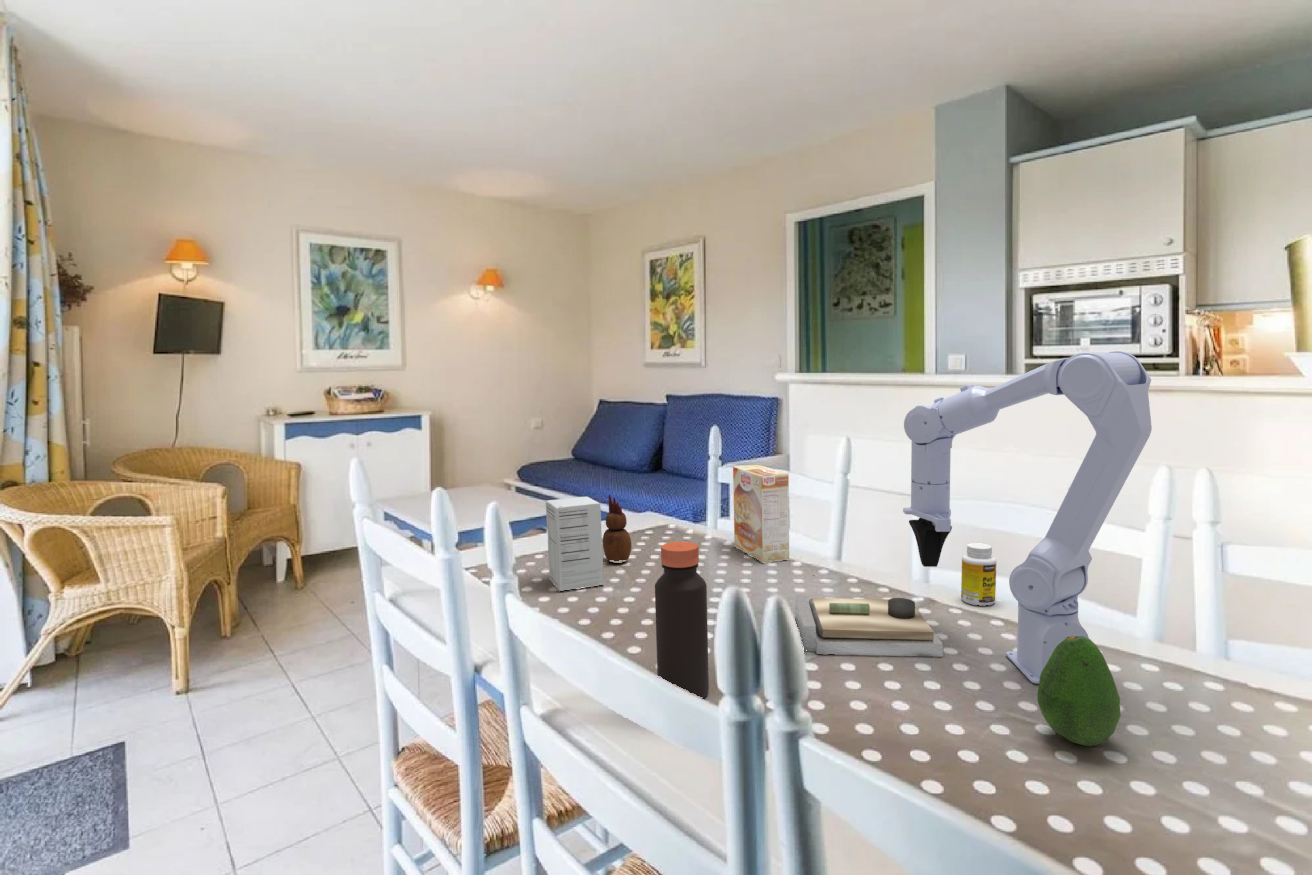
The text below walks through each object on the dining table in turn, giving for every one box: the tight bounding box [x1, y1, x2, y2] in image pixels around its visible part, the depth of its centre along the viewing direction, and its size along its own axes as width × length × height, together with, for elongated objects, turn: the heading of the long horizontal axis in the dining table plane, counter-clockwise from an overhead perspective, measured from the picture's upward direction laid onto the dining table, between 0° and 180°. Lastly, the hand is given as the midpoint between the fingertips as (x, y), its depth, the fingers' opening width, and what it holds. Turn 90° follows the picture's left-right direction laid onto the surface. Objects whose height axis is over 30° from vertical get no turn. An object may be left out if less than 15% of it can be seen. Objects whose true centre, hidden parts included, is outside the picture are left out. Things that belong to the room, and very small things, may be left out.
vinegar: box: [654, 541, 710, 699], centre depth 91 cm, size 7×7×20 cm
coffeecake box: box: [732, 464, 790, 563], centre depth 157 cm, size 15×7×20 cm, turn 17°
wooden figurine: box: [602, 494, 632, 561], centre depth 154 cm, size 7×6×15 cm
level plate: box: [808, 597, 935, 640], centre depth 110 cm, size 14×17×3 cm
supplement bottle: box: [960, 542, 997, 607], centre depth 123 cm, size 6×6×10 cm
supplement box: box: [545, 496, 605, 591], centre depth 140 cm, size 10×9×17 cm
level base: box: [794, 594, 944, 658], centre depth 110 cm, size 16×20×4 cm
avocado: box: [1036, 636, 1121, 747], centre depth 78 cm, size 8×8×12 cm
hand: (929, 565), depth 111 cm, fingers closed
